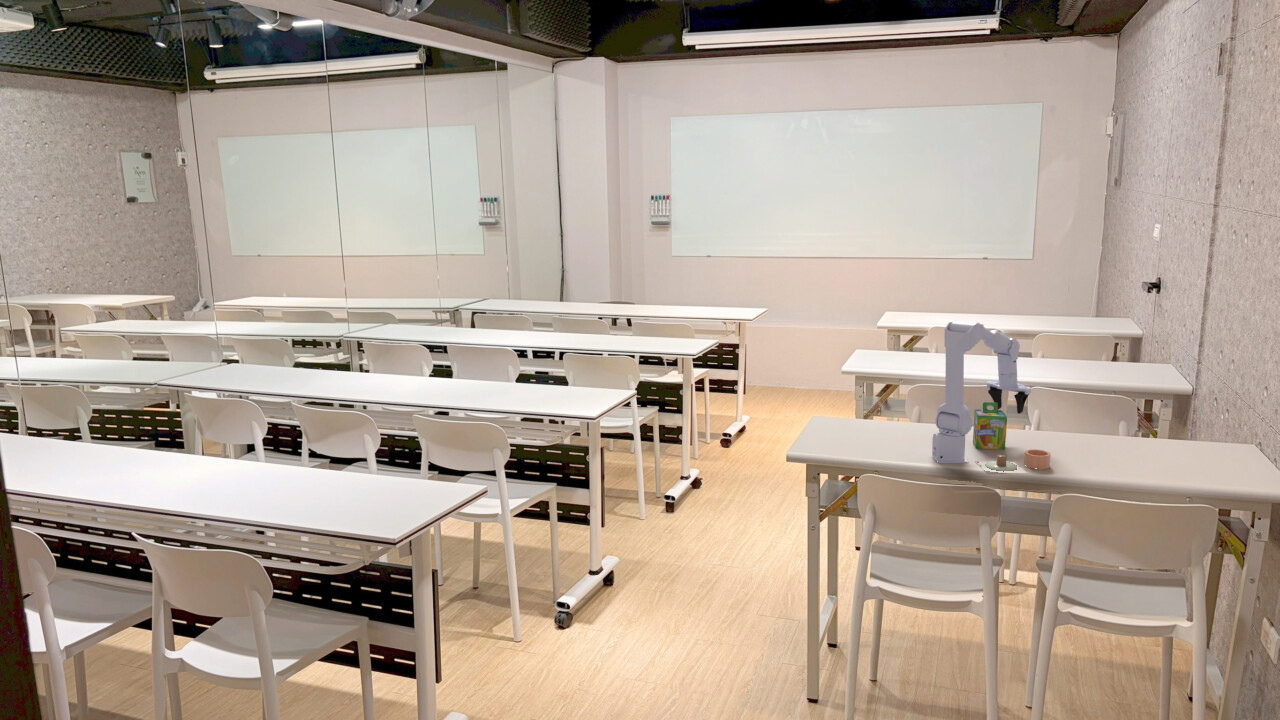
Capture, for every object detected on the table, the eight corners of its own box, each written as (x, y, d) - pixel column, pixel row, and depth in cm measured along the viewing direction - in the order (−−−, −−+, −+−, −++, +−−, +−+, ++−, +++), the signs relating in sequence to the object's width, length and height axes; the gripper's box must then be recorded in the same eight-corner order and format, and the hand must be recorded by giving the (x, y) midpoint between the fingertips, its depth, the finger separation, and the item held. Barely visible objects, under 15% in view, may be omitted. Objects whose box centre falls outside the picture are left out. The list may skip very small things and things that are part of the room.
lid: (991, 472, 257) (991, 460, 256) (981, 463, 266) (981, 451, 265) (1021, 471, 256) (1022, 460, 256) (1010, 462, 265) (1011, 451, 265)
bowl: (1029, 470, 258) (1030, 456, 257) (1020, 463, 265) (1021, 449, 264) (1053, 470, 258) (1054, 456, 257) (1043, 463, 265) (1044, 449, 264)
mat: (987, 475, 256) (987, 473, 256) (974, 462, 268) (974, 461, 267) (1028, 474, 255) (1029, 473, 255) (1013, 462, 267) (1014, 460, 267)
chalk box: (975, 450, 280) (977, 406, 277) (972, 442, 289) (973, 399, 286) (1006, 451, 278) (1008, 406, 275) (1001, 443, 287) (1003, 400, 284)
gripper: (1035, 371, 279) (1036, 410, 283) (994, 365, 291) (996, 402, 295) (1023, 378, 276) (1025, 417, 280) (982, 372, 287) (984, 409, 291)
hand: (1009, 410), depth 287 cm, fingers open, 7 cm apart
